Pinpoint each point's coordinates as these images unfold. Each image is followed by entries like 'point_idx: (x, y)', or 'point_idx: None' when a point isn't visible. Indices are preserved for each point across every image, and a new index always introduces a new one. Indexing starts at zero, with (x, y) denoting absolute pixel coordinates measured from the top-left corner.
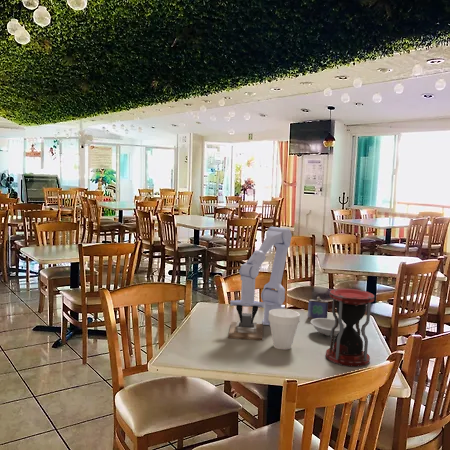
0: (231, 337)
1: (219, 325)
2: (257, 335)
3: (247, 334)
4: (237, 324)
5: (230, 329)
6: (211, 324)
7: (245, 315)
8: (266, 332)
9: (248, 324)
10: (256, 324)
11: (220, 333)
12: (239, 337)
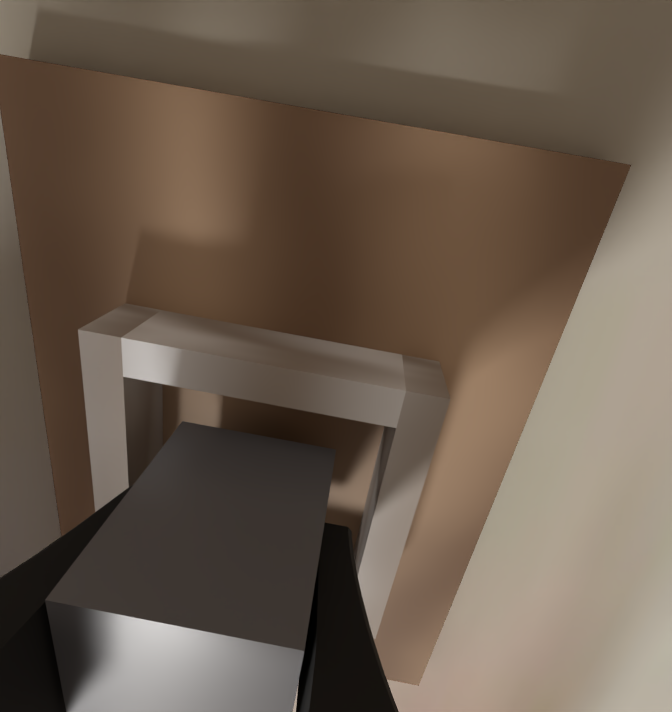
0: (556, 153)
1: (567, 636)
2: (92, 200)
3: (259, 249)
4: (392, 534)
5: (496, 468)
6: (654, 665)
7: (210, 663)
8: (21, 420)
9: (204, 463)
10: None
11: (659, 386)
12: (414, 127)
